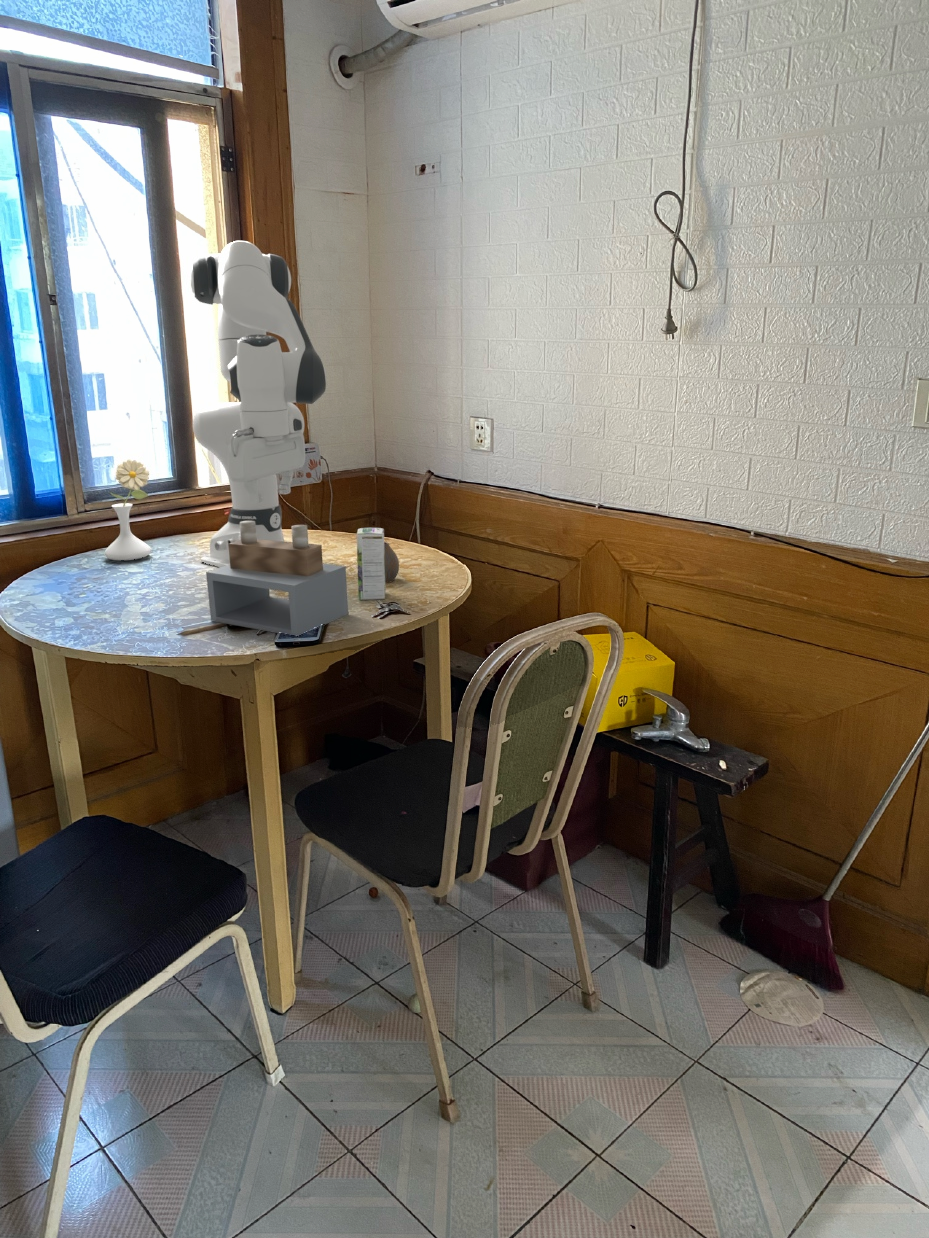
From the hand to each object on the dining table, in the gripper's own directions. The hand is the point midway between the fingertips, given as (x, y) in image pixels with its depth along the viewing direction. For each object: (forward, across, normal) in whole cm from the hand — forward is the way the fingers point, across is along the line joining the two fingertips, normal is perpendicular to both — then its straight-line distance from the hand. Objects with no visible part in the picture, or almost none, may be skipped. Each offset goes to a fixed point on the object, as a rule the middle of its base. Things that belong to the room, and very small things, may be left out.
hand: (270, 498), depth 176 cm
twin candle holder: (+14, 0, 0) cm, 14 cm away
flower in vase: (+25, +28, +64) cm, 75 cm away
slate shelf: (+24, 0, 0) cm, 24 cm away
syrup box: (+24, +20, -10) cm, 33 cm away
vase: (+25, +32, -6) cm, 41 cm away
